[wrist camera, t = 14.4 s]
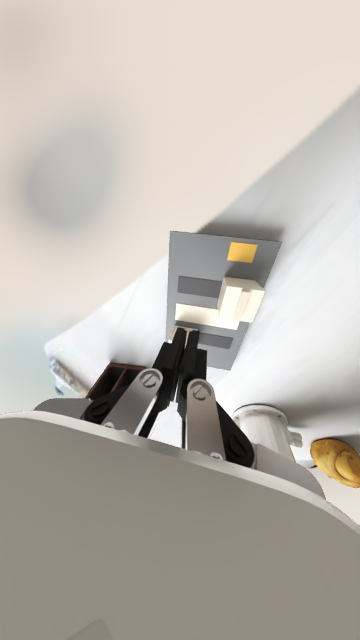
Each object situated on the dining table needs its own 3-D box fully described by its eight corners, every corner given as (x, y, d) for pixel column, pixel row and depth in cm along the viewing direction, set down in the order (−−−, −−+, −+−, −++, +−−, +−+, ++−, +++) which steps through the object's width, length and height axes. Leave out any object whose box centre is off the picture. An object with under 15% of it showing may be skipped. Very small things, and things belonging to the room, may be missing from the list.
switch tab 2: (255, 280, 19) (267, 293, 15) (245, 308, 21) (253, 325, 17) (223, 276, 19) (227, 287, 15) (217, 303, 21) (218, 320, 17)
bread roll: (361, 455, 38) (394, 503, 32) (319, 458, 43) (339, 500, 36) (344, 432, 35) (376, 480, 28) (299, 438, 39) (318, 481, 33)
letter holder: (126, 405, 47) (98, 463, 35) (109, 361, 37) (62, 423, 25) (156, 410, 45) (137, 473, 33) (146, 366, 35) (114, 434, 23)
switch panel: (275, 241, 18) (282, 242, 16) (229, 362, 30) (230, 371, 28) (173, 231, 19) (169, 230, 18) (167, 351, 31) (164, 358, 29)
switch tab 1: (197, 329, 24) (195, 347, 20) (194, 347, 26) (191, 367, 22) (174, 325, 24) (167, 342, 21) (172, 343, 27) (166, 362, 23)
